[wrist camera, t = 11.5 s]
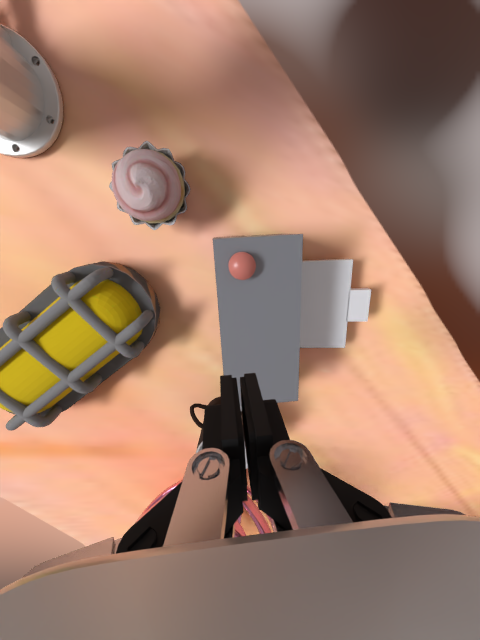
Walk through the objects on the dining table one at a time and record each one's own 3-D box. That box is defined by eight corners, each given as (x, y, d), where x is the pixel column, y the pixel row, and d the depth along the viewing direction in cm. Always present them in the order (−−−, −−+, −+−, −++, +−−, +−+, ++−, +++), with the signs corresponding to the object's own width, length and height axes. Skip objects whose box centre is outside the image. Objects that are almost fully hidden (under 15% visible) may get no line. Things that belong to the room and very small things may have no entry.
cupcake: (108, 178, 34) (66, 157, 24) (168, 140, 33) (148, 102, 23) (150, 242, 37) (127, 246, 27) (206, 209, 36) (202, 200, 26)
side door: (285, 261, 38) (375, 257, 36) (284, 259, 39) (371, 256, 38) (284, 349, 42) (364, 349, 41) (284, 345, 44) (361, 345, 42)
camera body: (214, 237, 37) (212, 239, 27) (283, 233, 38) (307, 234, 27) (225, 385, 45) (228, 430, 35) (282, 380, 46) (301, 422, 36)
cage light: (-83, 390, 33) (83, 242, 29) (-27, 360, 40) (111, 240, 36) (16, 455, 37) (171, 335, 33) (49, 418, 45) (180, 316, 41)
